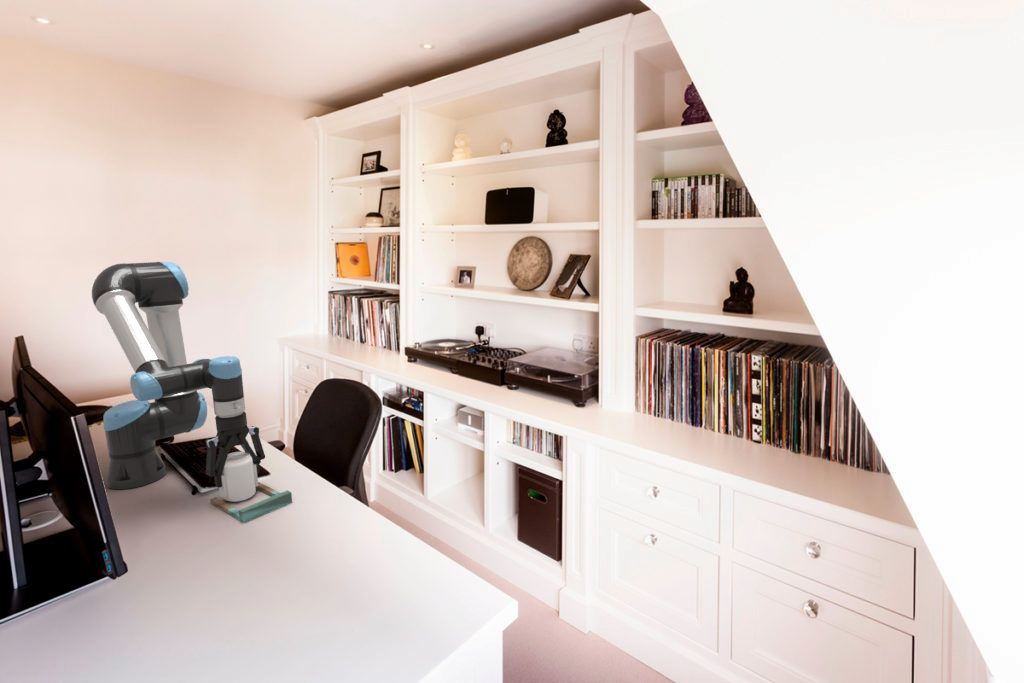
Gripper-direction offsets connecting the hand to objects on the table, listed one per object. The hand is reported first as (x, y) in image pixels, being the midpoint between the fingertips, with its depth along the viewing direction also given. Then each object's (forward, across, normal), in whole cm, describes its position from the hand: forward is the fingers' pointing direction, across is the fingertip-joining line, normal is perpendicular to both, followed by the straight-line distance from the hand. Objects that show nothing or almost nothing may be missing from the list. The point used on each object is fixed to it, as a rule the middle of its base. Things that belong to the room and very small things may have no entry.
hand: (239, 490), depth 153 cm
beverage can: (+2, 0, 0) cm, 2 cm away
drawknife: (+2, 0, -6) cm, 6 cm away
